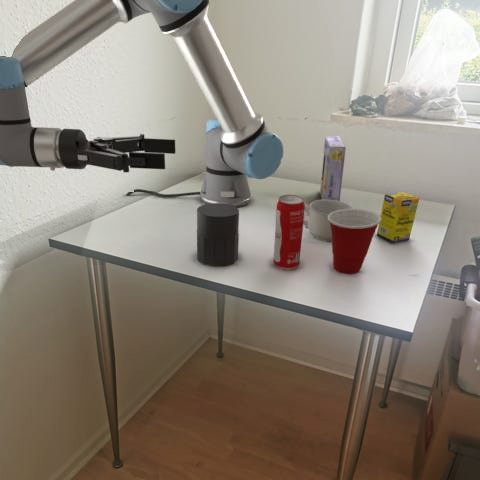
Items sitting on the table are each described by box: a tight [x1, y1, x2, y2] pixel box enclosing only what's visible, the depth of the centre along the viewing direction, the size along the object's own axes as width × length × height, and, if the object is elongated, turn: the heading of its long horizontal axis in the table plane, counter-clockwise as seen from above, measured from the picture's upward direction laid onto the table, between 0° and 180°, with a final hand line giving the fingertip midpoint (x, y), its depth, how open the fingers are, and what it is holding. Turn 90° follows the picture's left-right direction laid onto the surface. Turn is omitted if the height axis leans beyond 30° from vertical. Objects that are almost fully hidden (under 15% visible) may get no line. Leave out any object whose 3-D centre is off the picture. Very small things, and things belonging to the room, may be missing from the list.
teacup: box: [303, 198, 354, 242], centre depth 117 cm, size 14×11×8 cm
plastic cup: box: [328, 208, 381, 275], centre depth 100 cm, size 11×11×12 cm
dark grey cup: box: [196, 203, 240, 267], centre depth 102 cm, size 9×9×11 cm
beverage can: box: [272, 194, 306, 270], centre depth 99 cm, size 6×6×15 cm
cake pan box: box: [319, 135, 347, 201], centre depth 141 cm, size 19×5×18 cm, turn 175°
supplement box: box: [376, 191, 420, 244], centre depth 117 cm, size 6×6×11 cm
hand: (170, 153), depth 94 cm, fingers open, 13 cm apart
